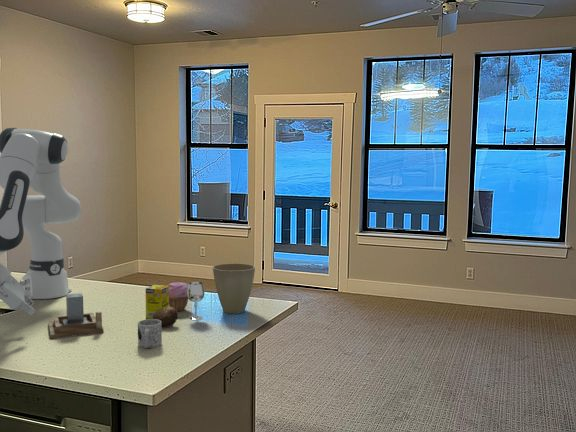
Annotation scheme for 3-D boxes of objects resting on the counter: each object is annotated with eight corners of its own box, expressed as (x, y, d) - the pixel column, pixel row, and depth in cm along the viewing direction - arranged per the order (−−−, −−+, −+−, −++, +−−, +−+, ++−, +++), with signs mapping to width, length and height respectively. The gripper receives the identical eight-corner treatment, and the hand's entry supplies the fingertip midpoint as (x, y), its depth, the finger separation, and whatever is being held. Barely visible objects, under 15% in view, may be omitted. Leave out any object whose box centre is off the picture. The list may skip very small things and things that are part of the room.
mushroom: (172, 310, 189) (167, 298, 185) (185, 323, 184) (180, 311, 180) (152, 324, 185) (146, 312, 181) (164, 338, 180) (159, 326, 176)
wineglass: (183, 318, 191) (183, 283, 190) (197, 314, 195) (197, 280, 194) (194, 321, 187) (194, 286, 186) (208, 318, 191) (207, 283, 190)
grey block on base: (62, 323, 179) (61, 293, 178) (86, 320, 182) (85, 291, 181) (64, 329, 173) (63, 299, 172) (88, 326, 176) (87, 296, 175)
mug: (140, 341, 167) (140, 319, 166) (163, 341, 167) (163, 319, 166) (133, 352, 157) (133, 329, 156) (158, 352, 157) (157, 329, 156)
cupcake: (161, 309, 202) (160, 281, 201) (182, 305, 208) (182, 278, 207) (173, 314, 195) (173, 286, 194) (195, 310, 201) (195, 282, 200)
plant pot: (263, 311, 200) (263, 267, 198) (229, 319, 190) (229, 272, 188) (238, 303, 211) (238, 261, 209) (204, 310, 201) (204, 266, 200)
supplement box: (162, 322, 186) (161, 289, 185) (145, 320, 187) (144, 288, 186) (169, 317, 192) (169, 285, 191) (153, 315, 193) (152, 284, 192)
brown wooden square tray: (48, 325, 181) (47, 306, 181) (97, 319, 188) (97, 301, 187) (50, 338, 168) (50, 318, 167) (103, 332, 174) (103, 312, 174)
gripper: (2, 278, 158) (41, 309, 163) (4, 265, 176) (39, 293, 182) (-15, 295, 157) (25, 325, 162) (-12, 281, 175) (24, 308, 180)
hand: (32, 308), depth 172 cm, fingers open, 8 cm apart
